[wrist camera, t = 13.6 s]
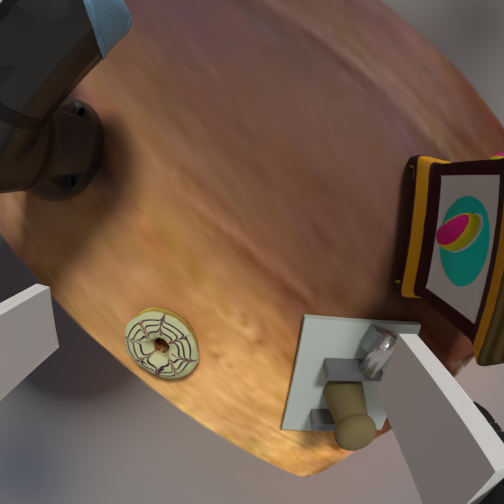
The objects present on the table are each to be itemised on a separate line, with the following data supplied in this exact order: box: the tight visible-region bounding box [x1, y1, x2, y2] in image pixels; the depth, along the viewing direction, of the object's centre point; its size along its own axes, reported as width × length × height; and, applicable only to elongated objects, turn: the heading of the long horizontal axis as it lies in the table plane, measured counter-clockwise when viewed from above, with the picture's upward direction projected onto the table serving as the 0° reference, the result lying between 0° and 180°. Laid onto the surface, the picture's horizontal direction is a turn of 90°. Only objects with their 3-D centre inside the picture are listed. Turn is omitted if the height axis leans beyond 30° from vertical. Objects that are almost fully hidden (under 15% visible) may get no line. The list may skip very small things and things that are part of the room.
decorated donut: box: [124, 307, 199, 378], centre depth 39 cm, size 10×11×4 cm
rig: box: [282, 314, 421, 431], centre depth 38 cm, size 17×20×5 cm
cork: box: [323, 380, 376, 450], centre depth 34 cm, size 6×6×11 cm
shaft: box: [359, 323, 398, 378], centre depth 36 cm, size 6×4×4 cm
